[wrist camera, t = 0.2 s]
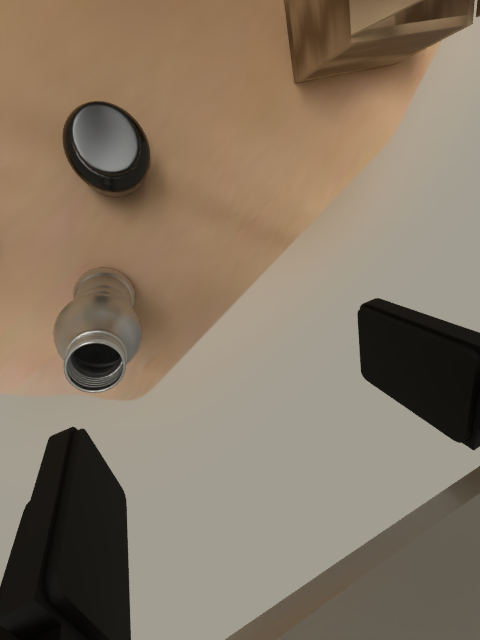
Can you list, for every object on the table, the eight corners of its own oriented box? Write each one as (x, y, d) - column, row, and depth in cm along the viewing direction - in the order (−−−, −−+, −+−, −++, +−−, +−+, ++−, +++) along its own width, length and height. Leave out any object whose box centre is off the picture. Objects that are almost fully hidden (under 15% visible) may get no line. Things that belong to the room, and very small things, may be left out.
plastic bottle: (81, 320, 36) (48, 423, 19) (71, 264, 34) (22, 324, 16) (136, 314, 38) (153, 402, 21) (130, 262, 36) (143, 312, 18)
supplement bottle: (149, 142, 33) (165, 111, 22) (137, 205, 34) (146, 203, 24) (80, 114, 30) (60, 62, 19) (70, 184, 31) (47, 172, 21)
